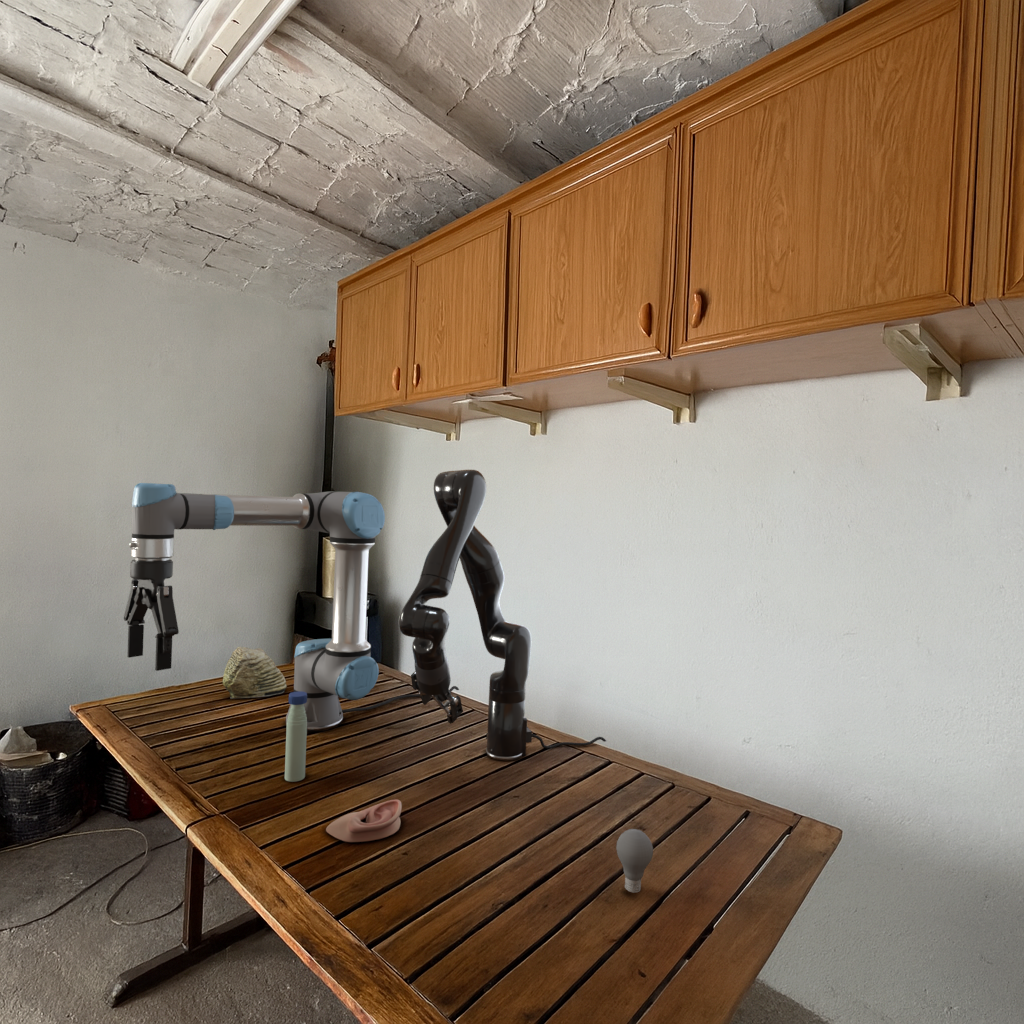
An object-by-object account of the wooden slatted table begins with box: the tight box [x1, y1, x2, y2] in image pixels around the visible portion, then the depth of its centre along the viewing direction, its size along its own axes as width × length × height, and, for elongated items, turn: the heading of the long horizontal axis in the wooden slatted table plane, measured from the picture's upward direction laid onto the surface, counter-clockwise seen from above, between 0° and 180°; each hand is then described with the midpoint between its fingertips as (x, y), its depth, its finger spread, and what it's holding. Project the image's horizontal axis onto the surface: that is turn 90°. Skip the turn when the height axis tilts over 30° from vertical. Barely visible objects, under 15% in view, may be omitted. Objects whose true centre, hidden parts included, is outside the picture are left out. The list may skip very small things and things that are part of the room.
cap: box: [288, 691, 307, 705], centre depth 142 cm, size 4×4×2 cm
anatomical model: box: [325, 799, 403, 843], centre depth 122 cm, size 13×4×12 cm
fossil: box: [222, 646, 288, 699], centre depth 198 cm, size 9×18×15 cm, turn 132°
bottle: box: [284, 704, 308, 783], centre depth 142 cm, size 4×4×18 cm
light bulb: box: [615, 828, 654, 894], centre depth 106 cm, size 6×6×10 cm
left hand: (148, 662), depth 129 cm, fingers open, 13 cm apart
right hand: (439, 711), depth 153 cm, fingers open, 8 cm apart
